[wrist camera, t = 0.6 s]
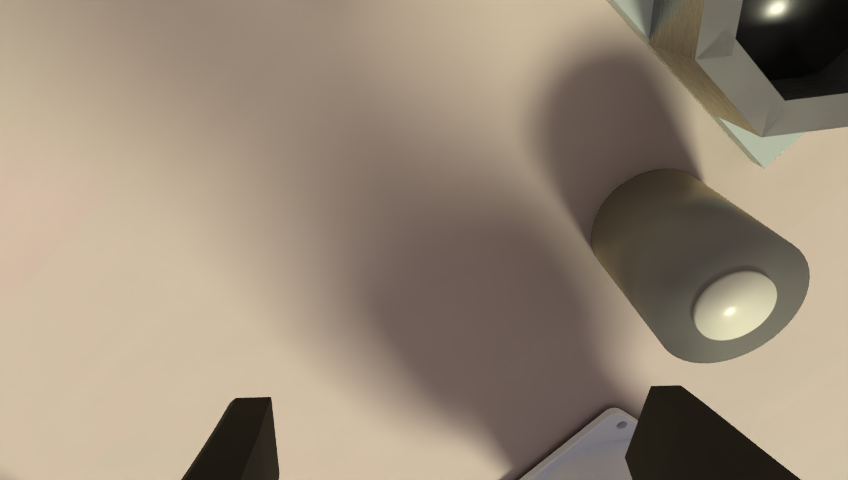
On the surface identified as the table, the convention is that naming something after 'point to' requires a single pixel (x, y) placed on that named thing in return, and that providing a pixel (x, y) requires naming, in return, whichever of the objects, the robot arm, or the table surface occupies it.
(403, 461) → the table surface
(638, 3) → the plate
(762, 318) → the cap
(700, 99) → the octagonal ring mount
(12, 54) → the table surface
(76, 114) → the table surface
